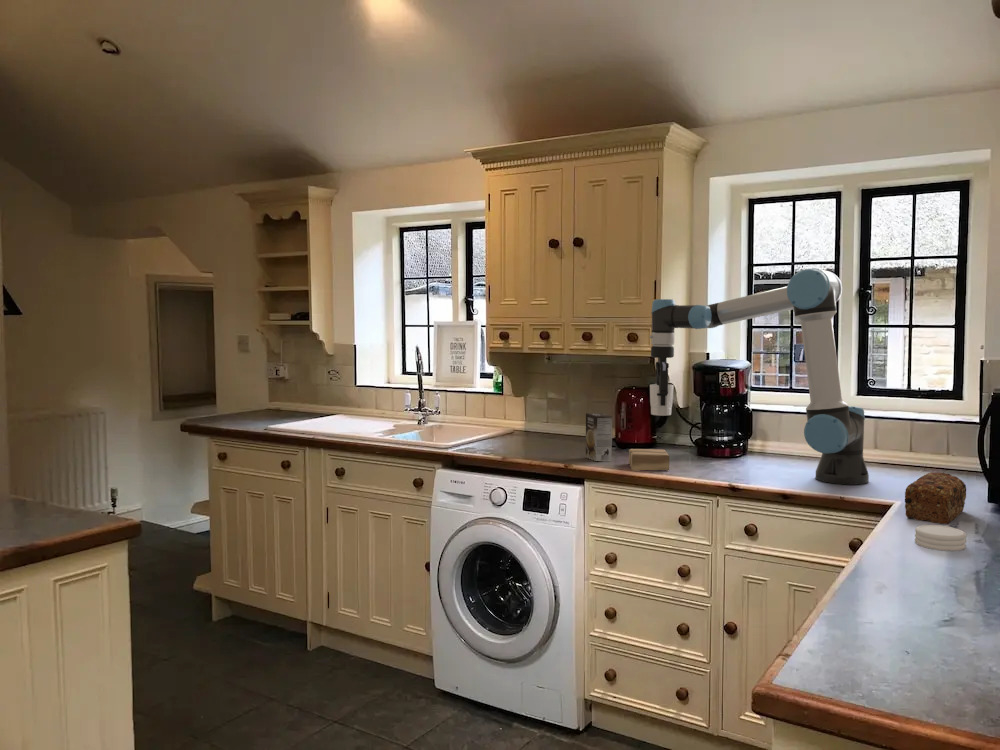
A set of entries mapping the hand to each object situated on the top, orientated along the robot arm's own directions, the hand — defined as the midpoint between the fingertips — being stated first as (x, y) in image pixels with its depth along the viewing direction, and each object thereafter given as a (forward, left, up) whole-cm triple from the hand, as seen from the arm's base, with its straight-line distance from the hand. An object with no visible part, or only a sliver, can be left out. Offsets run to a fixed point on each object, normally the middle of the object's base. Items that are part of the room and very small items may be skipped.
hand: (660, 413), depth 272 cm
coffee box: (+12, +20, -18) cm, 30 cm away
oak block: (-2, +4, -18) cm, 18 cm away
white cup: (0, 0, -1) cm, 1 cm away
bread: (-63, -61, -18) cm, 90 cm away
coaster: (-91, -50, -18) cm, 105 cm away
